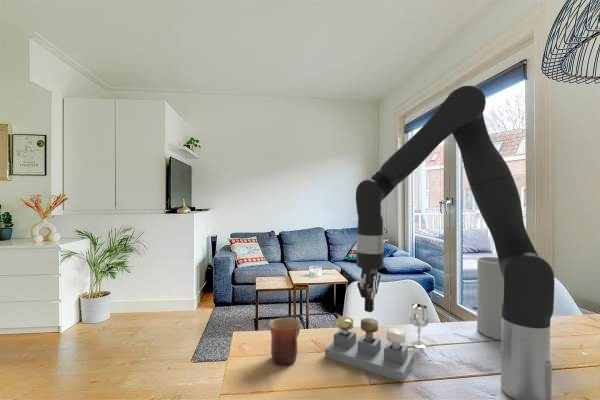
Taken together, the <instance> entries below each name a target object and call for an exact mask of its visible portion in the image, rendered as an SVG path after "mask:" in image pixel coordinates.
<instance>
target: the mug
mask: <svg viewBox="0 0 600 400" xmlns="http://www.w3.org/2000/svg"><path fill="white" fill-rule="evenodd" d="M300 327H301V322H300V319H298V318H292V317H279V318H275V319H272V320H270V322H269V323H268V328H269V330H270V334H271V335H270V337H271V340H270V341H271V342H270V356H271V360H272V362H273V363H274V364H276V365H279V366H289V365H292V364H294V362H296V361H297V357H298V337H299V334H300Z"/></svg>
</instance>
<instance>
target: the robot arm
mask: <svg viewBox="0 0 600 400" xmlns="http://www.w3.org/2000/svg"><path fill="white" fill-rule="evenodd" d="M486 102H487V101H486V95H485V93H484V91H483V90H482V89H481V88H479V87H478V86H475V85H472V84H471V85H470V84H469V85H462V86H459V87H456V88H455V89H454V90H452V91H451V92H450V93H449V94H448V95H447V97H446V98H445V99H444V101H443V102H442V103H441V105H440V106H439V107H438V108H437V110H436V111H434V113H433V114H432V116H430V118H429V119H428V120H427V122H426V123H424V124H423V125H422V127H421V128H419V130H418V131H417V132H415V134H414V135H413V136H412V137H410V138H409V139H408V140H407V141H406V142H405V143H404V144H403V145H402V146H401V147H400V148H399V149H397V151H395V152H394V153H393V154H392V155H391V156H390V157H389V158H388V159H387V160H386V161H384V162H383V164H382V165H381V166H380V169H379V170H378V171H377V173H375V174H374V175H373V177H371V178H370V179H364V180H362V181H361V182H359V184H358V185H357V187H356V189H355V190H356V191H355V204H356V213H357V238H356V263H355V264H356V266H357V268H360V269H361V273H360V281H358V282H357V284H356V286H357V289H358V292H359V294H360V297H361V298H363V299H364V311H365V312H366V313H372V312H374V310H375V307H374V305H375V302H374V301H375V298H376V295H378V291H379V285H380V282H381V281H380V280H381V277H382V276H381V274H379V271H378V270H380V269H381V270H382V269H383V267H384V259H385V258H384V257H385V255H384V254H385V252H384V250H385V249H384V248H385V247H384V246H385V242H384V221H383V220H384V219H383V216H382V214H381V213H382V212H381V209H382V203H381V202H382V201H383V200H384V199H385V198H387V197H388V196H389V195H390V194H391V192H392V191H393V190H394V189H395V188H396V187H397V186H398V185H399V184H400V183H402V182H403V181H404V180H405V179H407V178H408V176H410V175H411V174H412V173H413V172H414V171H416V170H417V169H418V168H419V166H421V164H422V163H424V161H425V160H426V159H427V158H428V157H429V156H430V154H432V152H434V150H435V149H436V148H437V147H438V146H439V145H440V144H441V143H442V142H443V141H445V140H446V139H447V138H448V137H450V135H451V134H452V135H453V139H454V140H455V142H456V144H457V146H458V149H459V152H460V155H461V159H462V163H463V164H462V165H463V168H464V171H465V174H466V178H467V182H468V185H469V187H470V190H471V193H472V196H473V199H474V202H475V204H476V207H477V208H478V210H479V212H480V215H481V217H482V218H483V221H484V223H485V225H486V226H487V228H488V230H489V233H490V235H491V237H492V240H493V245H494V247H495V248H494V249H495V251H496V254H497V255H496V257H498V260H499V265H500V270H501V273H502V276H503V277H504V300H503V305H502V326H501V340H500V341H501V342H500V343H501V345H500V346H501V349H500V356H501V357H500V388H501V390H502V391H503V392H504V394H505V395H507V396H508V397H510V398H511V399H513V400H553V398H552V397H553V394H552V392H553V391H552V390H553V387H552V386H553V385H552V384H553V382H552V381H553V365H552V361H551V319H552V316H553V315H554V309H555V308H554V306H555V304H554V303H555V273H554V271H553V268H552V266H551V265H550V264H549V263H548V262H547V261H546V260H545V259H544V258H542V257H541V256H539V253H538V252H537V251H536V249H535V247H534V245H533V243H532V240H531V239H530V237H529V235H528V232H527V230H526V227H525V223H524V215H523V209H522V208H523V206H522V203H521V201H522V200H521V196H520V192H519V190H518V187H517V185H516V181H515V178H514V176H513V174H512V171H511V169H510V167H509V165H508V163H507V162H506V161H505V159H504V158H503V156H502V155H501V153H500V152H499V151H498V149H497V147H495V145H494V143H493V141H492V139H491V137H490V135H489V131H488V128H487V125H486V121H485V117H484V111H485V108H486Z"/></svg>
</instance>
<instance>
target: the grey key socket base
mask: <svg viewBox="0 0 600 400" xmlns="http://www.w3.org/2000/svg"><path fill="white" fill-rule="evenodd" d="M381 340H382V339H381V338H379V337H375V336H373V344H372V343H368V342H366V334H363V335H362V336H361V337H358V336H357V332H355V331H352V330H348V337H346V336H342V329H339V330H338V331H336V332H335V333H334V334H333V341H332V342H331V343H330V344H329V345H327V347H325V348H324V357H325V358H326V359H329V360H333V361H335V362H339V363H342V364H345V365H347V366H351V367H354V368H357V369H361V370H363V371H366V372H370V373H373V374H376V375H379V376H382V377H385V378H388V379H392V380H395V381H397V382H400V383H404V382H405V380H406V378H407V376H408V374H409V372H410V370H411V368H412V366H413V364H414V362H415V352H414V351H410V350H408V347H409V346H408V345H406V344H403V343H400V351H398V350H395V349H392V342H390V341H388V342H387V344H384V343H381Z"/></svg>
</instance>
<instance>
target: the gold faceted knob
mask: <svg viewBox="0 0 600 400" xmlns="http://www.w3.org/2000/svg"><path fill="white" fill-rule="evenodd" d="M336 327H337V329H339V330H340V329H342V336H346V337H348V331H351V330H353V328H354V319H353V318H352V317H349V316H339V317H337V318H336Z"/></svg>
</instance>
